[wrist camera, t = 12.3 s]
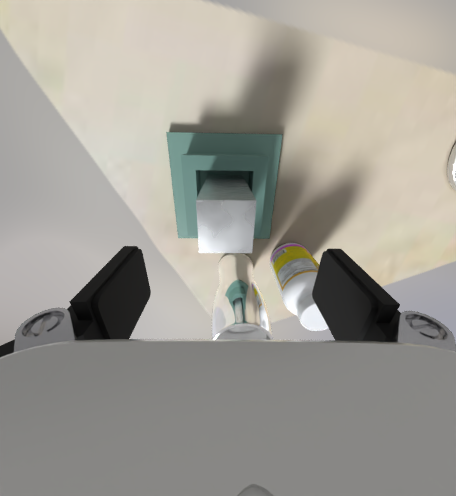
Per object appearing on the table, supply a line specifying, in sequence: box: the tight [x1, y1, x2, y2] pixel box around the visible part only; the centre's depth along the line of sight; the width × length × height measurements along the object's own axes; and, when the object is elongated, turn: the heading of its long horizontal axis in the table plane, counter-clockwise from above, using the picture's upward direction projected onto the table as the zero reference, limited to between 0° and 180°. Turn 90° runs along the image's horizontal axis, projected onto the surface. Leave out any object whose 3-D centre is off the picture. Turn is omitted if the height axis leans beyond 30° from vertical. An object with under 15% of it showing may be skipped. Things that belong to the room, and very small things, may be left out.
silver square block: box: [196, 175, 256, 253], centre depth 22 cm, size 4×4×13 cm
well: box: [166, 132, 282, 239], centre depth 26 cm, size 14×14×5 cm
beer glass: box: [212, 253, 273, 340], centre depth 28 cm, size 7×7×15 cm
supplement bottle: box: [270, 243, 329, 331], centre depth 28 cm, size 7×7×13 cm
